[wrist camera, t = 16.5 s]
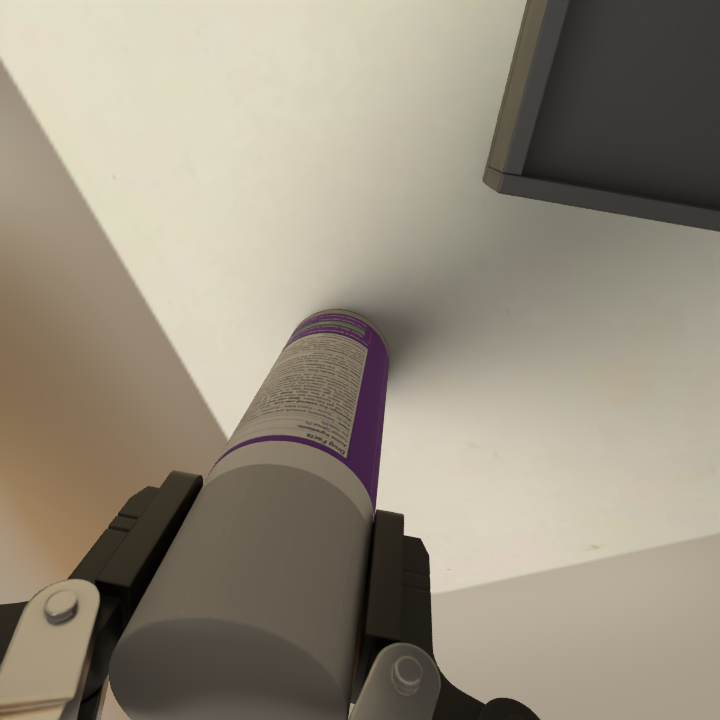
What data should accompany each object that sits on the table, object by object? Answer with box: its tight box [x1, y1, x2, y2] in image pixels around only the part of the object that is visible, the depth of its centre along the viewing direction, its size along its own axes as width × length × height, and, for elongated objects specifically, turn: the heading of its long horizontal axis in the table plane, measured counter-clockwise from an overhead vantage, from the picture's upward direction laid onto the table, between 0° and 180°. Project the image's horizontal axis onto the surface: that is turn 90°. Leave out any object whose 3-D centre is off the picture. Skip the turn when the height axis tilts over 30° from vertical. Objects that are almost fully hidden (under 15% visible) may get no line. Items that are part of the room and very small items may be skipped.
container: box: [109, 310, 389, 720], centre depth 16 cm, size 5×5×15 cm
